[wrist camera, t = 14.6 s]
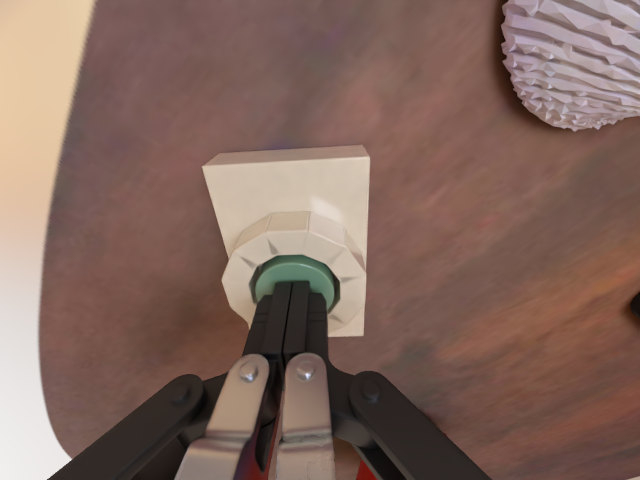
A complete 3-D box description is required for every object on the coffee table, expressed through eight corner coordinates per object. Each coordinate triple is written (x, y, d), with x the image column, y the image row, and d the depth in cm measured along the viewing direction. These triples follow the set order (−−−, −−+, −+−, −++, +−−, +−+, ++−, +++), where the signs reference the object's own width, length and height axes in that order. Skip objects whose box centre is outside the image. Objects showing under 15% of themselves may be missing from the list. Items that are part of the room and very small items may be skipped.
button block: (218, 152, 13) (180, 180, 10) (363, 144, 13) (378, 170, 9) (259, 313, 19) (244, 366, 15) (359, 309, 18) (367, 363, 15)
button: (256, 242, 13) (247, 265, 11) (331, 239, 13) (333, 261, 11) (268, 298, 15) (262, 323, 13) (334, 296, 15) (335, 321, 13)
